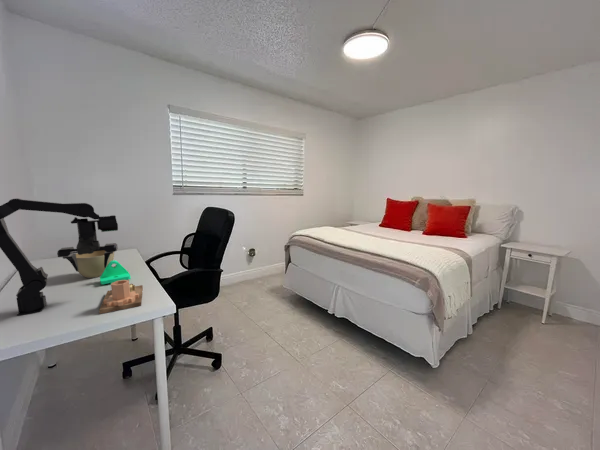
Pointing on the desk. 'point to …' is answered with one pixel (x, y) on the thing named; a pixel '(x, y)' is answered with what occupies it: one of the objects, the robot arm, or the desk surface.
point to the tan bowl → (92, 263)
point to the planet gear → (120, 294)
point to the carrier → (129, 305)
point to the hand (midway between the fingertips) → (91, 269)
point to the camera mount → (114, 273)
